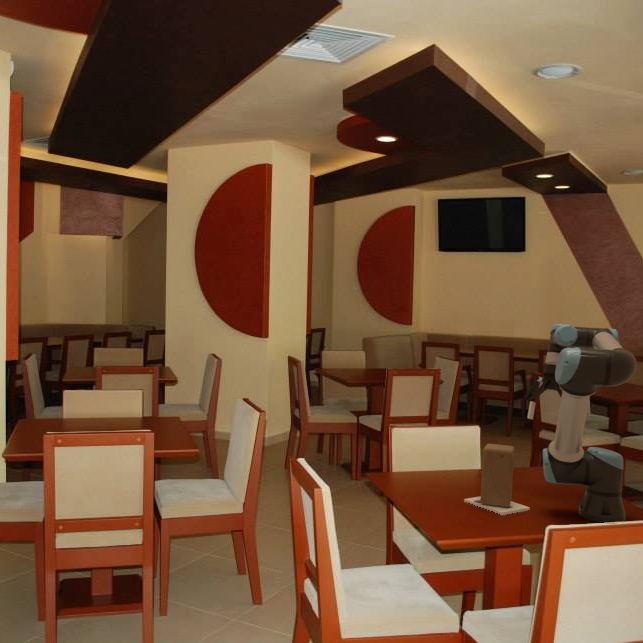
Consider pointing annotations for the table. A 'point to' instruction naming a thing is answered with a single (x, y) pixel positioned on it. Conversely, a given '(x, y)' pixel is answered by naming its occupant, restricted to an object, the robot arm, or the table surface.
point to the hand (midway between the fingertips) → (545, 421)
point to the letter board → (498, 509)
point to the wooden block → (497, 475)
